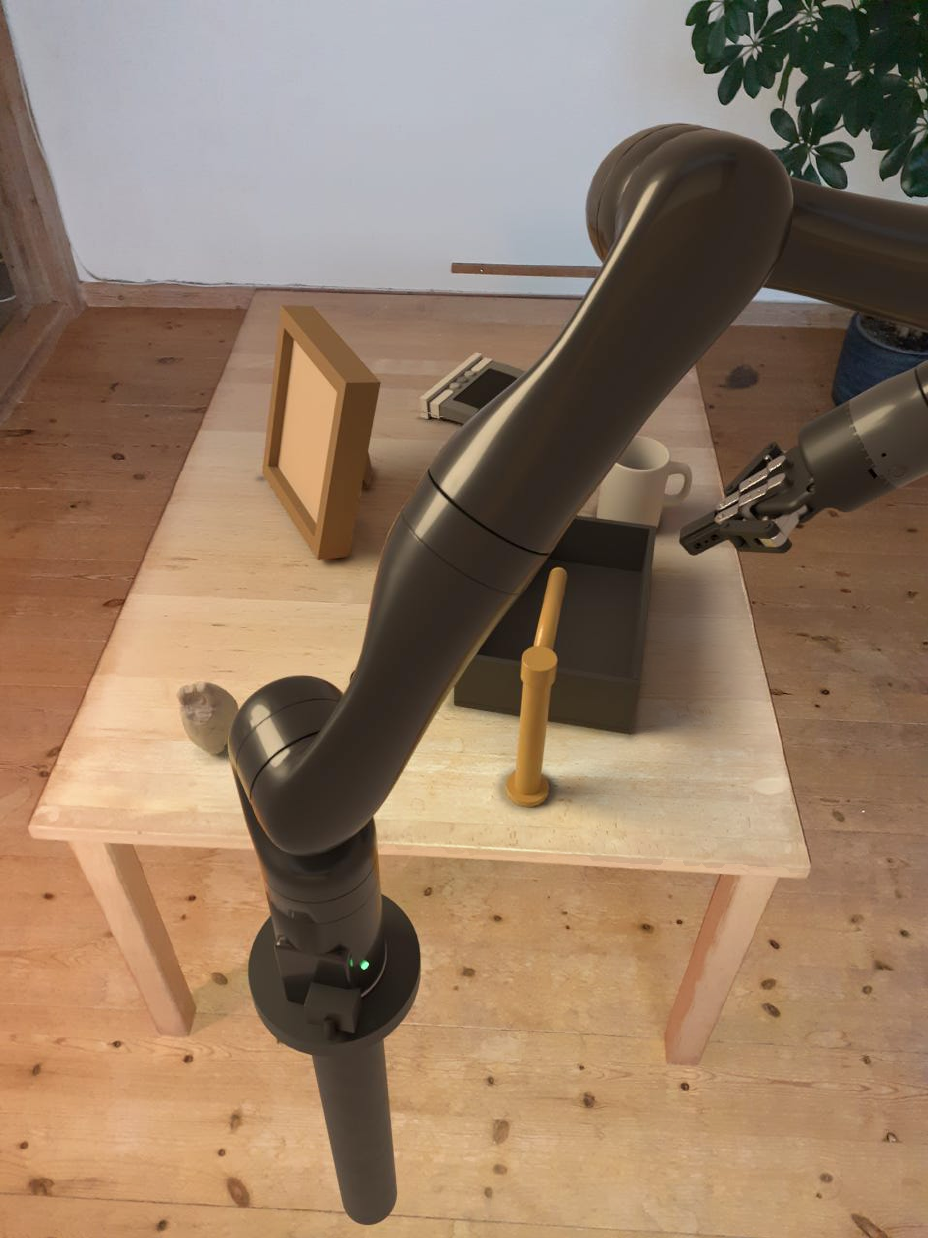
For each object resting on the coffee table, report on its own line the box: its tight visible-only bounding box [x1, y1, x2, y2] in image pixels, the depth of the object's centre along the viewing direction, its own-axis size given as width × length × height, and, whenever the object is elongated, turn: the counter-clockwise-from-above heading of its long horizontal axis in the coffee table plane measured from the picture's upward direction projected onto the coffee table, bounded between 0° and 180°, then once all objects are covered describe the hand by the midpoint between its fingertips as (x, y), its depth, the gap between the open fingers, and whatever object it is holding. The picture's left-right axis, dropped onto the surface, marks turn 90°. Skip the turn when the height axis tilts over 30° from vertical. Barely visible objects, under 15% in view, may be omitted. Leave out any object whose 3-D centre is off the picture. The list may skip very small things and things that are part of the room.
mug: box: [596, 435, 693, 530], centre depth 131 cm, size 12×8×11 cm
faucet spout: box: [521, 567, 567, 689], centre depth 94 cm, size 16×3×5 cm, turn 168°
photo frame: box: [261, 304, 382, 561], centre depth 127 cm, size 15×22×25 cm
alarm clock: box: [419, 352, 526, 425], centre depth 155 cm, size 17×5×16 cm
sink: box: [453, 514, 657, 735], centre depth 115 cm, size 28×20×8 cm
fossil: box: [176, 681, 240, 755], centre depth 101 cm, size 6×4×10 cm, turn 111°
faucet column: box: [505, 683, 551, 808], centre depth 95 cm, size 4×4×17 cm
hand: (685, 543), depth 83 cm, fingers closed
